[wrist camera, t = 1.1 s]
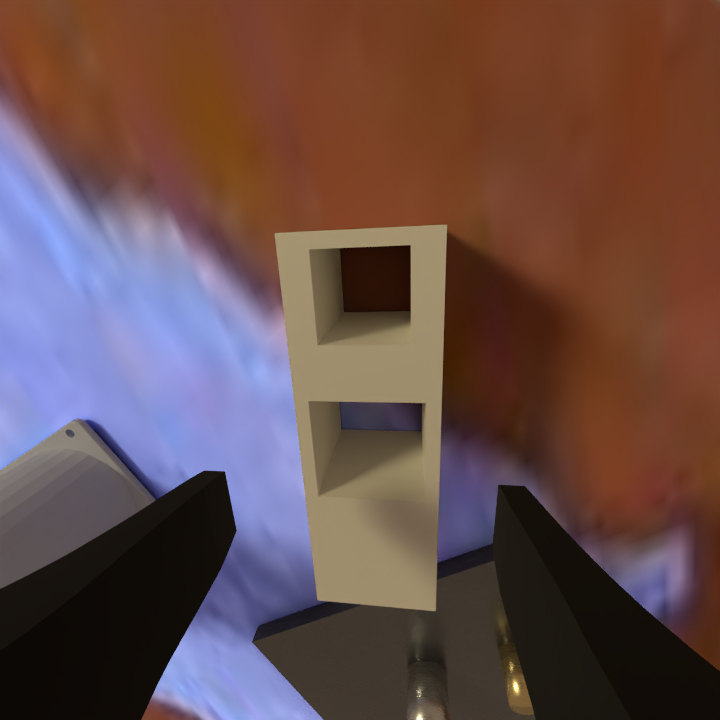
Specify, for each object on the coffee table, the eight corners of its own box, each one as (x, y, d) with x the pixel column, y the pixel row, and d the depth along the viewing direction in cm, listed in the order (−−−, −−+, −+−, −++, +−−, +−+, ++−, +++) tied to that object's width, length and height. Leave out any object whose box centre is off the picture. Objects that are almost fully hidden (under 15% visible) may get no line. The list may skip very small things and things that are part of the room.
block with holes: (430, 521, 20) (435, 611, 15) (338, 515, 21) (317, 600, 16) (436, 225, 15) (447, 224, 10) (315, 231, 16) (274, 233, 11)
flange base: (362, 741, 28) (353, 834, 23) (258, 626, 25) (226, 708, 21) (612, 689, 22) (658, 796, 18) (516, 535, 20) (545, 619, 15)
